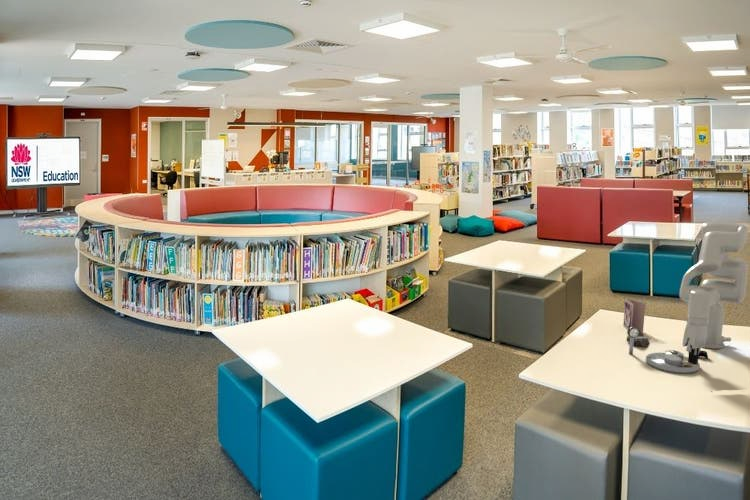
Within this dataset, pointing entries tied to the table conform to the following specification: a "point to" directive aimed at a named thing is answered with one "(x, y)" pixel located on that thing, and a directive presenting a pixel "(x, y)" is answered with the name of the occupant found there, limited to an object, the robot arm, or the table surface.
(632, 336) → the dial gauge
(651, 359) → the platter
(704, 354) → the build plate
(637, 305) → the greeting card
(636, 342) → the fossil
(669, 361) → the cover
